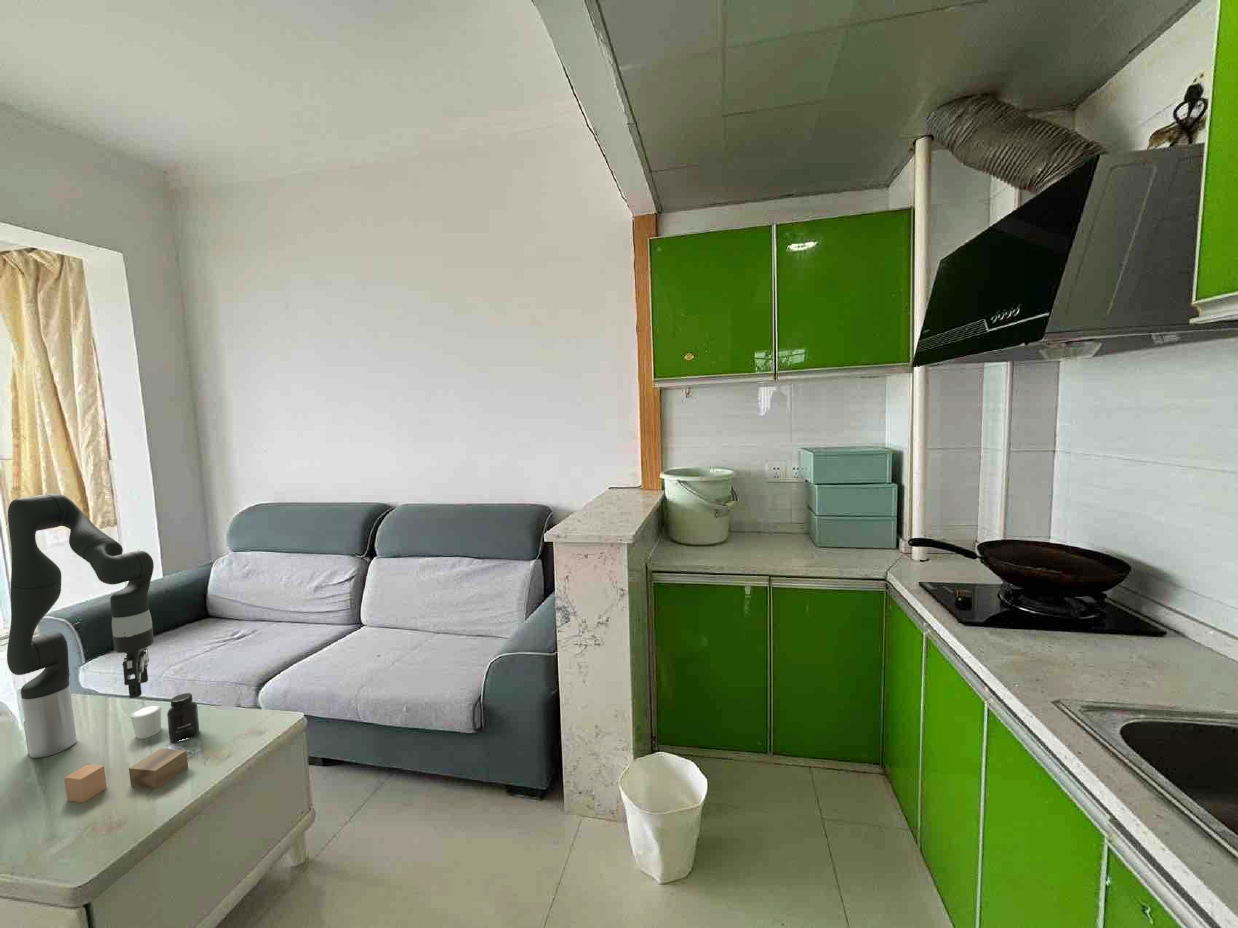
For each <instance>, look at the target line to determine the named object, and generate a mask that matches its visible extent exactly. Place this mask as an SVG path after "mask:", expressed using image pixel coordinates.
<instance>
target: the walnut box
mask: <svg viewBox="0 0 1238 928" xmlns="http://www.w3.org/2000/svg"><path fill="white" fill-rule="evenodd" d="M188 768H189V763H188V754H187V750H183V749H174V748H173V749H172V748H171V749H170V748H159V749H158V750H155V751H154V752H153V753H151V754H149V755H148V756H146V757H145V758H143V759H142V760H140V761H138V762H137V763H134V764H133V765H132V766H130V767H128V773H129V782H130V786H131V787H135V788H136V787H137V788H148V789H155V790H156V789H159V788H160V787H163V785H165V784H166V783H168V782H169V781H170V780H172V779H174V778H175V777H177V776H178V775H179V774H181V773H182V772H184V771H185V770H187V769H188Z"/></svg>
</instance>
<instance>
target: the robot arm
mask: <svg viewBox="0 0 1238 928" xmlns="http://www.w3.org/2000/svg"><path fill="white" fill-rule="evenodd" d="M7 523H8V524H7V525H8V531H9V541H10V550H11V576H10V614H11V615H10V616H11V617H10V629H9V635H8V642H7V648H6V650H7V651H6V662H7V667H8V670H9V671H10V672H11V673H12V675H16V676H22V675H26V674H30V673H34V672H37V671H40V670H42V669H43V670H42V671H40V673H39V674H38V675H36V676H35V677H33V678H32V679H30V680H29V681H28V682H26V683H25V684H23V686H21V688H20V697H21V701H22V708H23V710H22V711H23V715H24V716H23V717H24V721H23V726H24V727H23V728H24V734H25V742H26V743H25V744H26V748H27V754H29V757H30V758H32V759H41V758H45V757H49V756H52V755H55V754H59V753H61V752H63V751H65V750H67V749H70V748H71V747H72V746H74V745H75V744H76V742H77V741H78V739H77V731H76V724H75V715H74V708H73V701H72V693H71V687H70V665H69V663H70V662H69V647H68V641H67V639H66V637H65V636H64V634H62V633H61V632H59V631H52V632H47V633H43V634H40V635H37V636H34V634H35V631H36V628H37V627H38V625H39V624H40V622H41V621H42V619H43V618H44V617H45V616H46V615H47V613H49V611H50V610H51V609H52V608H53V606H55V603H57V601H58V599H59V598H60V596H61V591H62V571H61V568H60V567H59V566H58V565H57V564H56V563H55V562H54V561H53V560H52V559H51V558H50V557H48V556H47V555H46V553H44V552H43V551H42V550H41V549H40V548H39V546H38V544H37V541H36V540H37V539H36V533H37V532H38V531H43V530H49V529H53V528H58V527H65V528H67V529H69V530H70V533H69V537H68V543H69V547H70V549H71V550H72V551H73V553H75V554H76V555H77V556H78V557H80V558H82V559H83V560H84V561H86V562H87V563H88V564H89V565H90V567H91V568H92V570H93V571H94V573H95V575H96V577H97V578H98V580H99V581H100V582H101V583H104V584H107V585H112V586H113V585H118V584H119V585H120V584H122V583H126V582H127V583H126V584H127V585H126V586H125V587H124V588H122V589H120V590H118V591H116V592H114V593H113V594H112V595H111V596H110V598H109V601H110V609H111V610H110V612H111V633H112V640H113V641H112V642H113V648H114V649H113V650H114V652H115V653H117V654H118V653H119V654H125V657H124V658H123V662H122V664H121V665H122V668H123V671H122V672H123V680H124V681H123V684H124V686H128V693H129V694H128V695H129V696H128V697H129V698H130V699H134V698H135V699H136V698H138V697H141V696H142V694H143V693H142V684H145V683H147V682H148V680H149V676H148V675H149V673H148V666H149V662H150V658H149V651H148V647H150V646H152V645H153V643H154V641H155V639H154V629H153V628H154V627H153V620H152V619H153V618H152V615H151V612H150V607H149V596H148V595H149V589H150V587H151V586H150V585H151V581H152V576H153V574H154V564H155V563H154V561H153V560H154V559H153V558H152V556H151V555H150V554H149V552H147V551H144V550H136V551H131V552H127V553H123V551H124V550H123V546H122V544H121V543H119V542H118V541H116V540H115V539H114V538H112V537H110V535H107V534H106V533H105V532H103V531H102V530H101V529H99V528H98V527H97V526H96V525H95V524H94V523H93V522H92V521H91V520H90V518H89V517H87V515H86V514H85V513H84V512H83V511H82V510H81V509H80V507H78V506H77V505H76V504H75V503H74V501H72V499H70V498H69V497H68V496H66V495H64V494H62V493H46V494H39V495H30V496H24V497H19V498H15V499H13V500H12V501H11V502H10V503H9V505H8V509H7ZM133 675H134V678H131V676H133Z"/></svg>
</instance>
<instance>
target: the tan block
mask: <svg viewBox="0 0 1238 928" xmlns="http://www.w3.org/2000/svg"><path fill="white" fill-rule="evenodd" d="M105 771H106V769H105V766H104V765H100V764H99V765H98V764H91V763H90V764H89V763H87V764H86V765H84V766H82V767H80V768H79V769H77V770H75V771H73V772H72V773H69V774H67V775H66V776H64V779H63V780H64V787H65V794H66V795H65V796H66V801H69V802H78V803H79V802H80V803H85V802H86V801H88V800H89V799H91V798H92V797H95V796H96V795H98V794H99V793H101V792H102V791H104V790H106V789H108V788H107V780H106V779H107V778H106V772H105Z"/></svg>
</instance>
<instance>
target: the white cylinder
mask: <svg viewBox="0 0 1238 928" xmlns="http://www.w3.org/2000/svg"><path fill="white" fill-rule="evenodd" d="M130 719H131V724H132V727H133V730H134V734H135V738H136V737H137V738H136V739H145V738H149V737H152V736H154V735H155V734H157V733H159V732H160V731H161V730H162V705H160V704H151V705H145V706H142V707H140V708H138V709H136V710H134V711H133V712H131V713H130Z"/></svg>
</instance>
